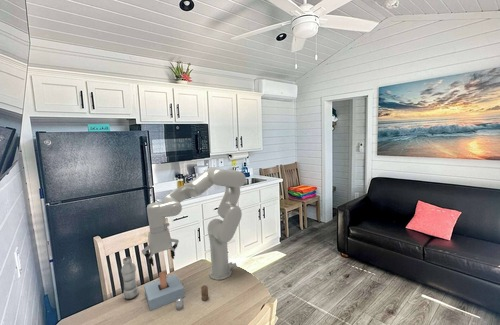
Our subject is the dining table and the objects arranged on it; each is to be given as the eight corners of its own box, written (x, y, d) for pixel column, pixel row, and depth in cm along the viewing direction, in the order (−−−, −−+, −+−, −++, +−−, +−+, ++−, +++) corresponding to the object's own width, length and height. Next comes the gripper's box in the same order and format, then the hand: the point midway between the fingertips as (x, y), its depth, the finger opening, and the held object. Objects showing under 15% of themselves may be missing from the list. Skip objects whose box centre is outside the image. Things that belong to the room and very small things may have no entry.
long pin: (167, 292, 125) (165, 270, 124) (168, 296, 123) (166, 273, 121) (160, 295, 124) (158, 272, 122) (162, 298, 121) (159, 275, 119)
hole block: (176, 282, 133) (176, 274, 132) (184, 297, 121) (183, 287, 121) (145, 293, 125) (144, 284, 124) (150, 310, 113) (148, 300, 112)
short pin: (182, 304, 116) (181, 295, 116) (184, 308, 114) (183, 299, 113) (175, 307, 115) (174, 298, 114) (177, 311, 112) (176, 302, 111)
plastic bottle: (121, 298, 122) (116, 260, 119) (133, 290, 128) (128, 254, 125) (129, 302, 119) (125, 263, 116) (141, 293, 125) (137, 256, 122)
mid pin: (207, 295, 122) (206, 284, 121) (209, 299, 119) (208, 287, 118) (200, 298, 120) (200, 286, 119) (203, 302, 117) (202, 290, 116)
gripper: (174, 221, 126) (178, 252, 129) (137, 230, 117) (142, 264, 120) (178, 225, 120) (182, 258, 122) (139, 236, 111) (145, 271, 113)
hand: (162, 261), depth 121 cm, fingers open, 9 cm apart
